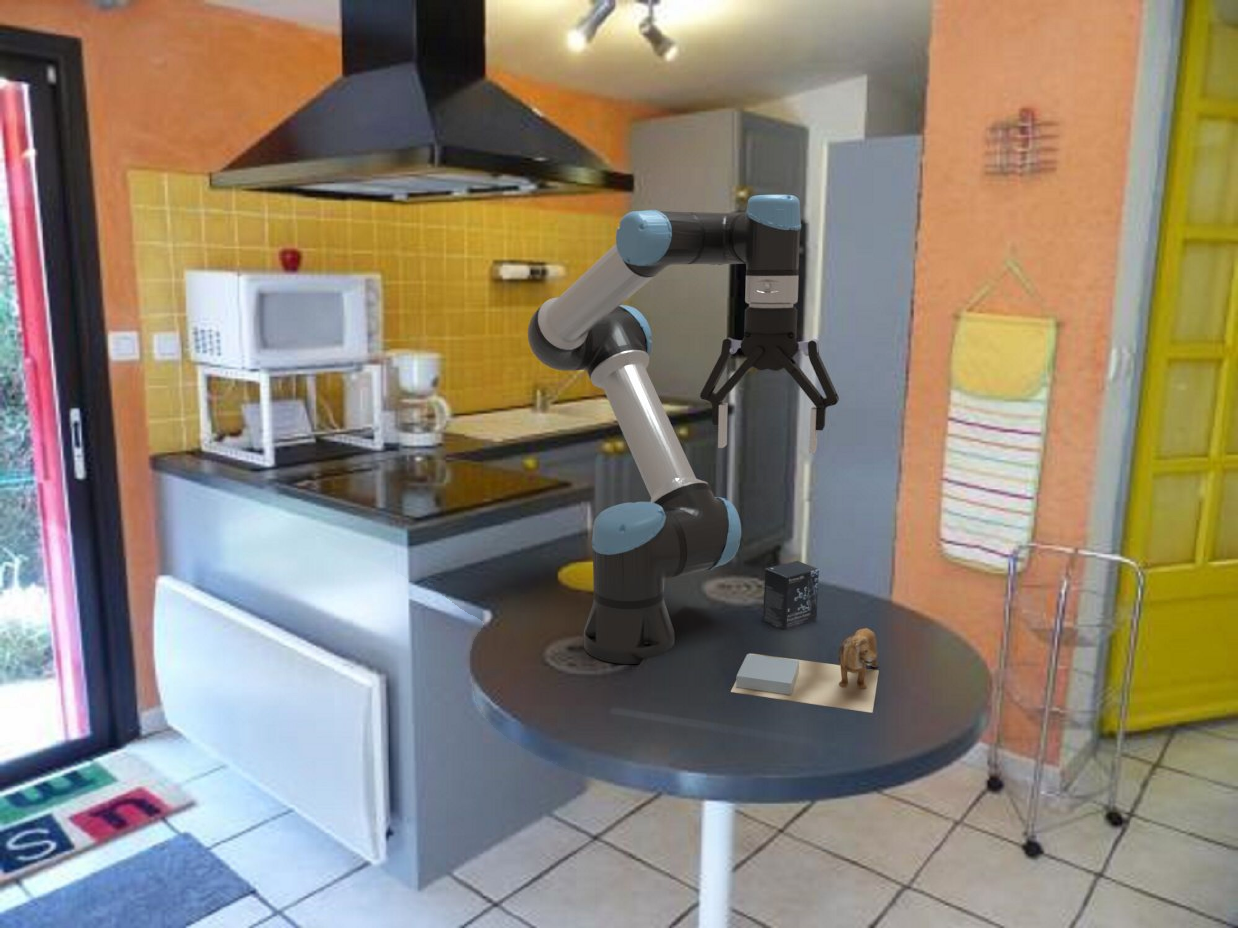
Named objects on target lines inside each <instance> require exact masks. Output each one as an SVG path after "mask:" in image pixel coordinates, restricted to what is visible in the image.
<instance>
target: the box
mask: <svg viewBox="0 0 1238 928" xmlns="http://www.w3.org/2000/svg"><path fill="white" fill-rule="evenodd" d="M764 571H765V572H764V590H763V591H764V592H763V593H764V594H763V610H762V613H763V614H762V615H763V616H762V620H763V621H765V622H766V623H769V624H770V625H772V626H775V627H778V628H779V629H781V630H784V631H785V630H786V631H787V630H789V629H792V628H796V627H799V626H801V625H805V624H808V623H812V622H813V623H817V617H818V616H817V615H818V595H819V580H820V579H819V575H820V569H819V568H817V567H815V566H813V565H810V564H807V563H805V562H802V561H799V560H794V561H791V562H787V563H784V564H780V565H779V564H778V565H776V566H771V567H765V570H764Z"/></svg>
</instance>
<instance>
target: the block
mask: <svg viewBox="0 0 1238 928" xmlns="http://www.w3.org/2000/svg"><path fill="white" fill-rule="evenodd" d="M751 654H752V653H751ZM751 654H749V653H746V656H745V657H744V660H743V662H742V664H741V666H740V667H739V670H738V672H737V674H736V677H735V679H736V680H735V682H736V687H739V688H746V689H753V690H760V691H766V692H773V693H780V694H787V695H791V693H792V690H793V687H794V685H795V682H796V679H797V676H798V673H799V661H796V660H797V659H796V660H789V659H790V658H789V659H781V658H782V657H781V658H774V657H775V656H774V657H766V656H767V655H766V656H759V655H760V654H759V655H751Z"/></svg>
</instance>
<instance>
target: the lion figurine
mask: <svg viewBox="0 0 1238 928" xmlns="http://www.w3.org/2000/svg"><path fill="white" fill-rule="evenodd" d="M877 644H878V643H877V638H876V634H875V632H874V631H872V630H871V629H869V628H867V627H866V628H860V629H858V630H856V631H855V633H854V634H851V635H849V636H847V637H846V638H845V639H844V641H843V642H842V644H841V645H840V646H839V651H838V663H839V665H841V676H842V681H841V682H839V686H841V687H847V685H848V676H847V673H848V672H851V673H858V672H859V674H858V679H857V685H858V688H859V689H865V688H866V685H865V683H864V677H865V673H866V669H867V666H869V667H870V666H871V667H872V668H877V667H878V651H877V646H878V645H877ZM866 665H867V666H866Z"/></svg>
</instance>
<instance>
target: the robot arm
mask: <svg viewBox="0 0 1238 928" xmlns="http://www.w3.org/2000/svg"><path fill="white" fill-rule="evenodd" d="M745 210H746V211H744V212H743V211H742V212H709V211H708V212H703V211H701V212H698V211H696V212H695V211H667V210H666V211H664V210H655V209H647V210H638V211H637V210H636V211H630V212H628V213H626V214H625V215H624V216H622V218H621V219H620V221H619V226H618V227H617V228H616V232H615V233H616V235H615V244H613V246H611V247H610V249H609V250H608V251H606V253H604V254H603V255H602V256H601V257H600V258H598V260H597V261H596V262H594V264H592V265H591V267H590V268H588V270H586V271H585V272H584V273H583V274H581V276H580V277H578V279H577V280H576V281H574V283H572V285H570V286H569V287H568V288H567V289H566V290H565V291H564V292H563V293H561V295H559V296H558V297H552V298H550V299H548V300H546V301H545V302H544V303H542V304H541V305H540V306H539V307H538V308H537V310H536V311H535V312H534V313H533V315H532V317H531V318H530V320H529V323H528V328H527V341H528V344H529V347H530V349H531V351H532V354H534V356H535V357H536V358H537V360H539V361H540V362H541V363H542V364H543V365H545V366H547V367H548V368H550V369H553V370H558V371H563V372H567V371H568V372H569V371H574V372H575V371H586V372H587V373H586V374H587V375H588V377H589V380H590V382H591V383H592V385H593V386H594V387H596V388H600V389H603V391H604V394H605V396H606V398H607V400H608V403H609V405H610V408H611V409H612V412H613V414H614V417H615V419H616V420H617V424H618V425H619V428H620V430H621V433H622V435H623V437H624V439H625V441H626V444H627V446H628V448H629V451H630V452H631V456H632V457H633V460H634V462H635V464H636V467H637V468H638V471H639V473H640V476H641V478H642V481H643V482H644V485H645V487H646V490H647V491H648V494H649V496H650V498H651V499H650V501H636V502H631V501H629V502H624V503H619V504H615V505H613V506H609V507H607V508H605V509H604V510H602V511H601V512H600V513H598V515H597V516H596V518H595V520H594V521H593V526H592V538H591V546H592V570H593V571H592V577H593V578H592V579H593V581H592V583H593V584H592V585H593V602H592V605H591V609H590V612H589V615H588V618H587V622H586V624H585V628H584V630H583V648H584V651H585V652H586V653H587V654H588V655H589V656H591V657H592V658H593V657H594V658H595V659H597V660H600V661H603V662H608V663H612V664H619V665H621V664H622V665H630V664H631V665H633V664H637V665H638V664H641V663H642V662H643V660H644V659H648V658H653V657H657V656H659V655H662V654H664V653H666V652H668V651H670V649H672V648H673V646H674V645H675V637H676V636H675V629H674V627H673V624H672V619H671V618H670V614H669V612H668V609H667V605H666V603H665V580H668V579H672V578H677V577H681V576H685V575H686V576H687V575H689V574H690V575H691V574H695V573H697V572H702V571H711V570H714V569H715V568H717V567H720V566H723V565H726V564H727V563H729V562H730V561H732V560H733V559H734V557H735V556H736V555H737V553H738V550H739V547H740V543H741V538H742V524H741V518H740V516H739V513H738V510H737V509H736V506H735V505H734V504H733V502H731V501H730V500H727V499H726V498H724V497H721V496H719V497H718V496H717V497H716V496H714V493H713V491H712V489H711V487H710V484H709V483H708V482H707V481H705V480H701V479H698V478H697V477H696V475H695V473H694V471H693V469H692V466H691V465H690V462H689V461H688V458H687V456H686V453H685V451H684V450H683V447H682V445H681V443H680V441H679V438H678V436H677V434H676V432H675V430H674V428H673V425H672V424H671V421H670V419H669V417H668V415H667V412H666V411H665V408H664V406H663V403H662V402H661V399H660V397H659V396H658V393H657V391H656V389H655V386H654V384H653V383H652V380H651V377H650V376H649V374H648V371H647V369H648V366H649V363H650V355H651V352H652V348H653V347H652V346H653V341H652V340H651V337H652V331H651V328H650V324H649V322H648V321H647V319H646V318H645V316H644V315H643V314H642V313H641V311H639V310H638V309H637V308H635V307H633V306H631V305H625V304H624V305H622V304H623V303H624V302H626V301H627V300H628V299H629V298H630V297H632V296H633V295H634V294H635V293H636V292H638V291H639V290H640V289H642V287H644V286H645V285H646V284H647V283H648V282H650V281H651V280H652V279H654V277H656V276H657V275H658V274H659V273H661V272H662V271H663V270H665V269H666V268H667V267H669V266H672V265H674V266H675V265H677V266H678V265H711V266H713V265H717V266H721V265H723V266H724V265H736V264H737V265H739V264H742V265H743V264H745V266H746V267H745V268H746V270H745V297H744V301H745V304H748V306H747V307H746V309H744V330H743V331H744V334H743V335H744V336H743V338H742V340H740V339H739V340H738V339H734V338H732V337H727V338H725V339H723V340H722V344H721V351H720V355H719V357H718V359H717V361H716V363H715V365H714V367H713V369H712V370H711V373H710V374H709V377H708V379H707V380H706V382H705V384H704V387H703V388H702V390H701V392H700V394H699V395H700V399H701V400H703V401H708V402H710V403H711V408H712V410H711V422H712V425H715V426H718V427H717V428H718V430H717V432H718V433H717V434H718V436H717V448H718V449H723V448H725V447H726V446H727V445H728V410H729V409H728V407H729V405H728V404H729V403H728V402H723V400H725V398H726V397H727V396H728V395H729V394H730V393H731V392H732V391H733V390H734V388H735V387H736V386H737V385H738V384H739V382H740V381H741V380H742V379H743V378H744V377H745V376H746V375H747V373H748V372H750V371H751V369H752V368H755V369H756V370H758V371H765V370H771V371H773V372H774V371H776V372H777V371H778V372H779V371H780V370H783V369H785V371H786V372H787V373H788V374H789V375H790V376H791V377H792V378H793V380H794V381H795V382H796V384H798V386H799V387H800V388H801V390H802V391H803V392H804V394H805V395H806V396H807V397H808V399H809V400H810V401H811V402H812V403H813V405H814V406H812V407H811V409H810V414H809V415H810V418H809V420H810V421H809V441H808V443H809V444H808V447H809V448H808V454H815V453H816V451H817V445H818V431H823V430H824V429H825V427H826V411H827V408H828V407H832V406H835V405H837V403H838V402H839V401H840V397H839V395H838V393H837V391H836V388H835V386H834V384H833V381H832V380H831V378H830V375H829V373H828V371H827V368H826V367H825V364H824V363H823V360H822V357H821V355H820V349H819V348H820V347H819V341H818V340H817V339H814V338H813V339H811V340H808V341H807V340H806V341H799V340H798V337H797V333H798V331H797V329H798V326H797V325H798V309H797V307H795V306H794V304H797V303H798V299H799V277H800V276H799V267H800V263H799V261H800V245H801V244H800V242H801V229H802V223H801V221H802V220H801V219H802V218H801V217H802V216H801V202H800V200H799V198H798V197H797V196H795V195H792V194H760V195H759V194H758V195H753V196H751V197H750V198H748V200H747V207H746V209H745ZM739 349H741V351H742V352H743V354H744V355H745V357H746V359H745V360H744V361H743V362H742V363H741V365H740V366H739V367H738V368H737V370H736V371H734V373H733V374H732V375H731V376H730V378H728V380H727V381H726V382H725V383H724V384H723V386H721V388H720V389H719V390H718V391H717V392H714V390H715V389H716V386H717V385H718V383H719V381H720V379H721V377H722V375H723V373H724V371H725V370H726V368H727V366H728V364H729V361H730V359H731V357H732V356H733V355H734V354H736V353H737V351H738V350H739ZM799 350H801V351H802V352H803V355H804V356H805V357H808V358H809V362H810V364H811V366H812V368H813V371H814V373H815V375H816V377H817V379H818V382H819V384H820V386H821V388H822V390H823V392H824V395H825V397H823V395H822V394H821V393H820V391H818V389H817V388H816V387H815V385H814V384H813V382H811V380H810V379H809V377H807V375H806V374H805V372H804V371H803V370H802V369H801V368H800V365H799V364H798V363H797V361H796V360H795V359H794V357H795V355H796V354H797V353H798V352H799Z"/></svg>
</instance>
